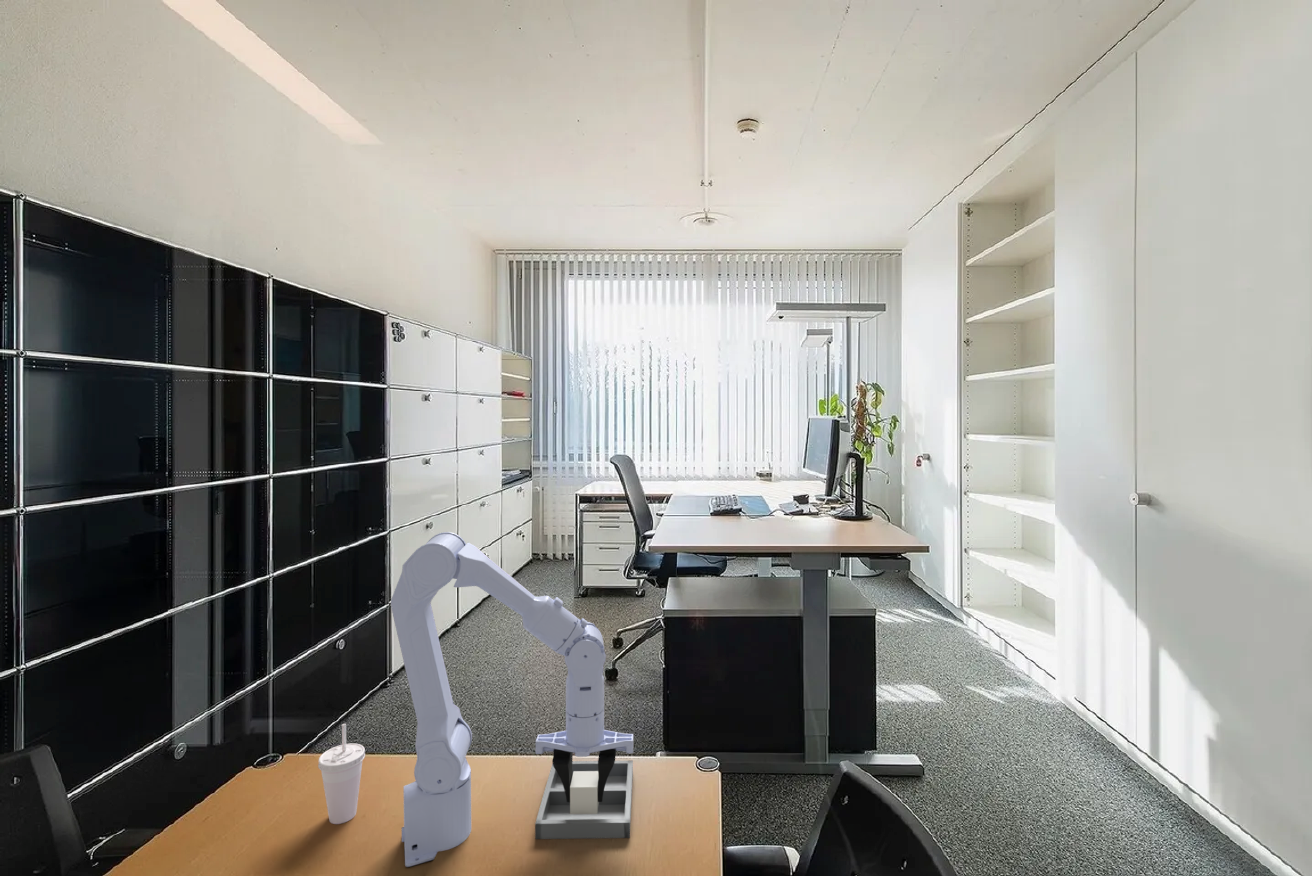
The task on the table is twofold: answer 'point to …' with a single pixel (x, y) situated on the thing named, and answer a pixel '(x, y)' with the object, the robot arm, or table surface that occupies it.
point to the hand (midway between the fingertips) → (585, 798)
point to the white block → (584, 792)
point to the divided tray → (604, 824)
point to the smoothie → (342, 779)
